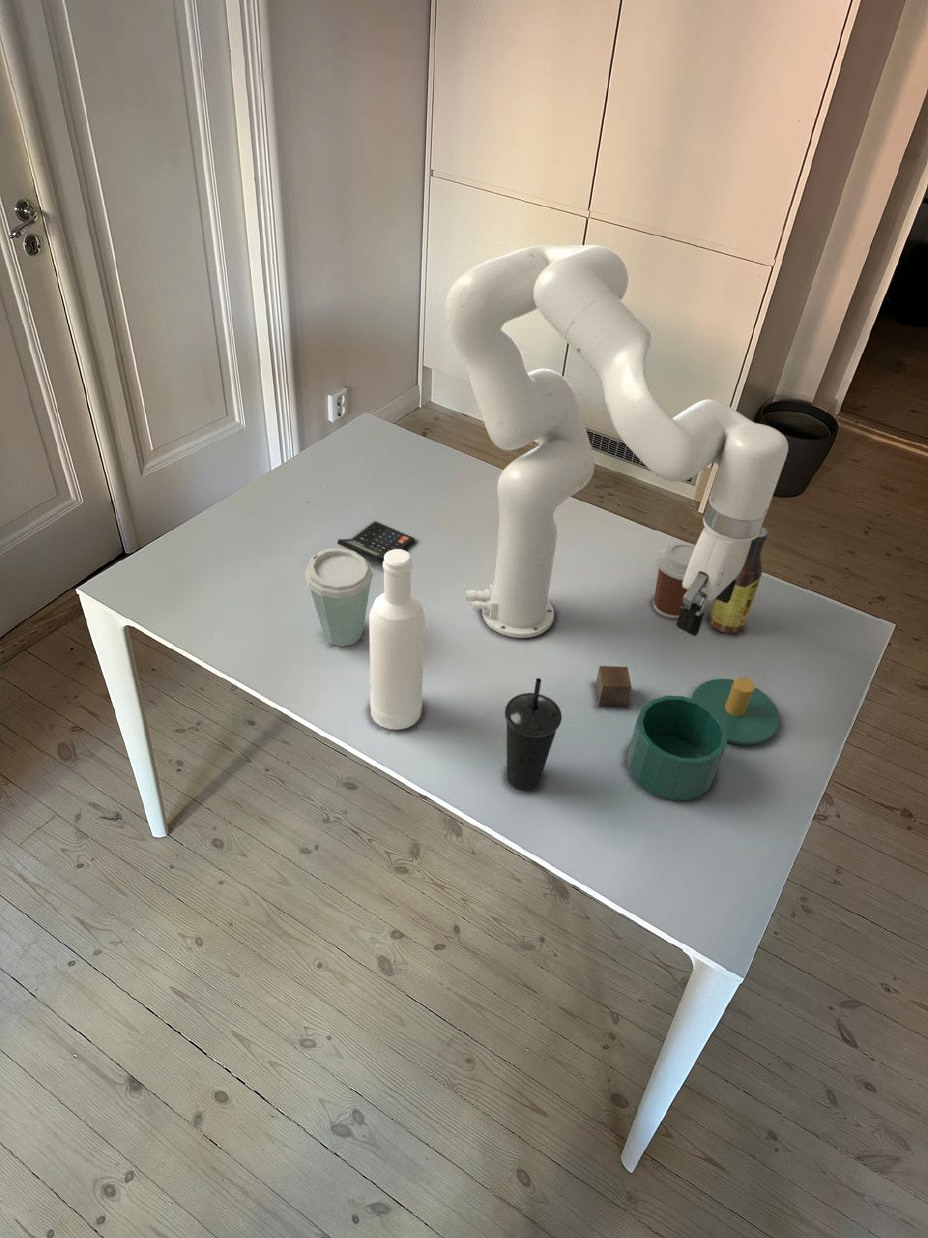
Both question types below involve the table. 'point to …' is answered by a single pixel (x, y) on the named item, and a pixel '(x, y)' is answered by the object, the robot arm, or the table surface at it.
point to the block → (613, 686)
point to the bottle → (396, 647)
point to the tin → (676, 747)
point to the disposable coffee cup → (340, 593)
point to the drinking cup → (529, 736)
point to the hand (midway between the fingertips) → (703, 614)
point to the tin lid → (740, 709)
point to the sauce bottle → (740, 592)
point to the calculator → (377, 541)
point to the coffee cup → (672, 578)
